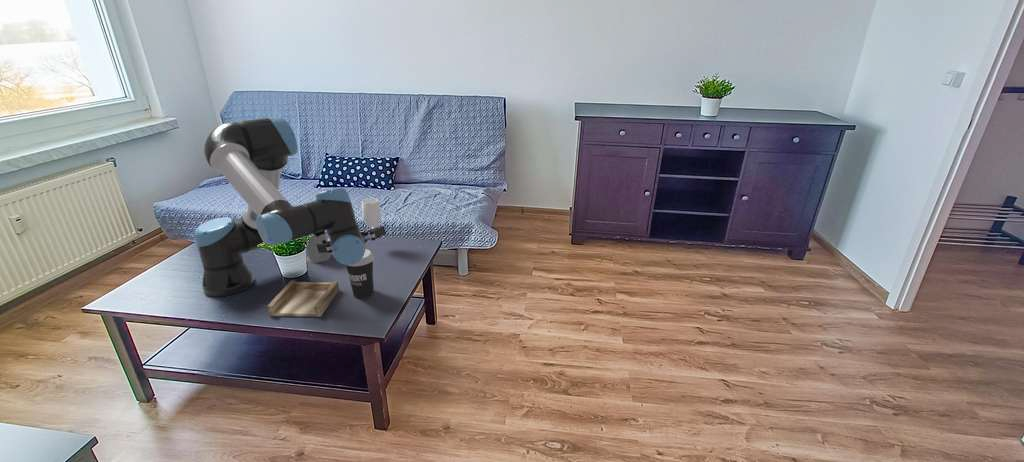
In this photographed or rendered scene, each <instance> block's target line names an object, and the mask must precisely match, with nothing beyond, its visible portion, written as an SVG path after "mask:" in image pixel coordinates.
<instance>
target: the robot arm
mask: <svg viewBox="0 0 1024 462" xmlns="http://www.w3.org/2000/svg"><path fill="white" fill-rule="evenodd" d="M297 142H298V141H297V139H296V135H295V133H294V131H293V128H292V127H291V124H289V122H288V121H287V119H285V118H283V117H280V116H277V117H276V116H274V117H270V116H268V117H263V118H255V119H254V118H253V119H249V120H248V119H246V120H239V121H238V120H237V121H229V122H225V123H222V124H220V125H218V126H216V127H215V128H214V129H213V130H212V131H211V132H210V133H209V135H208V136H207V138H206V140H205V143H204V151H203V152H204V157H205V160H206V162H207V163H208V165H209V167H210V168H211V169H212V170H213V171H214V172H215V173H217V174H219V175H220V176H223V177H224V178H225V179H226V180H227V181H228V182H229V184H230V185H231V186H232V187H233V189H234V190H235V191H236V192H237V193H238V195H239V196H240V197H241V198H242V199H243V200H244V201H245V203H246V204H247V208H246V209H245V210H244V211H243V213H242V217H241V218H238V219H233V218H232V217H229V216H223V217H217V218H212V219H209V220H207V221H205V222H203V223H201V224H200V225H198V226H197V227H196V228H195V230H194V241H195V245H196V247H197V250H198V253H199V256H200V260H201V263H202V267H203V275H202V277H203V278H202V289H203V293H204V294H205V295H206V296H208V297H209V296H210V297H226V296H231V295H235V294H238V293H240V292H241V293H242V292H243V291H245V290H247V289H248V288H250V287H251V286H252V285H253V284H254V282H255V279H254V275H253V273H252V271H251V270H250V269H249V267H248V266H247V264H246V263H245V261H244V259H243V254H247V253H249V252H252V251H255V250H260V249H262V247H257V245H258V244H260V243H262V242H264V243H265V244H267V245H269V246H270V247H273V246H277V245H281V244H287V243H290V242H291V241H295V240H298V239H301V238H304V237H305V236H308V235H311V234H315V233H318V232H321V231H325V232H327V234H328V235H327V236H328V239H327V242H326V240H322V242H323V244H317V245H316V246H317V249H318V252H319V253H329V254H331V253H332V256H333V257H334V259H335V260H336V261H337V262H338V263H340V265H341V264H342V265H345V266H346V265H352V264H355V263H357V262H358V261H360V260H361V259H362V257H363V256H364V253H365V249H366V243H367V242H368V241H369V240H370V241H376V240H377V239H379V238H381V237H382V236H384V235H386V234H387V231H386V229H385V226H384V225H381V226H380V227H377V228H375V229H374V227H372V229H370V230H367V231H360V228H359V225H358V222H357V219H356V216H355V211H354V209H353V208H354V207H353V205H352V204H353V202H352V201H351V199H350V196H349V195H350V194H349V193H348V192H347V191H348V190H347V189H346V188H345V187H342V186H340V187H336V188H332V189H327V190H324V191H319V192H316V194H315V200H314V201H310V202H307V203H303V204H299V205H295V206H294V205H292V204H291V203H290V202H289V201H288V200H287V198H286V197H285V196H284V195H283V194H282V193H281V192H280V182H281V175H282V169H284V168H285V167H286V165H287V164H288V160H289V158H288V157H292V156H295V155H297V153H298V149H299V147H298V143H297ZM329 238H330V239H329ZM269 246H268V247H269Z"/></svg>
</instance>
